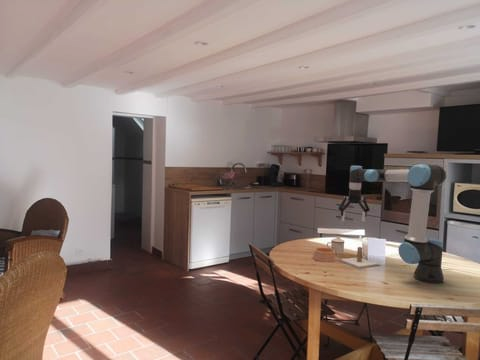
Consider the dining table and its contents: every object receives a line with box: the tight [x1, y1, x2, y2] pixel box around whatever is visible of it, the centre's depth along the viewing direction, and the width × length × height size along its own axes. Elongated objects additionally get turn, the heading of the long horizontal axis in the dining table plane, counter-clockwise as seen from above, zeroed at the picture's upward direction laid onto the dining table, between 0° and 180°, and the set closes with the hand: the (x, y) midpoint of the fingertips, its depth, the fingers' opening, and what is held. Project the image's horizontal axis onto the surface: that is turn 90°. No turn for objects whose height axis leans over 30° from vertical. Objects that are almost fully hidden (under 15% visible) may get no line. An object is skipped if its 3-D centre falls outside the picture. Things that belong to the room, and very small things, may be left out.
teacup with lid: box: [326, 236, 345, 255], centre depth 258 cm, size 12×9×12 cm
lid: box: [340, 246, 379, 269], centre depth 232 cm, size 16×16×10 cm
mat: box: [337, 259, 382, 270], centre depth 232 cm, size 19×19×1 cm
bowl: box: [313, 247, 336, 263], centre depth 238 cm, size 13×13×6 cm
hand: (353, 221), depth 240 cm, fingers open, 13 cm apart
